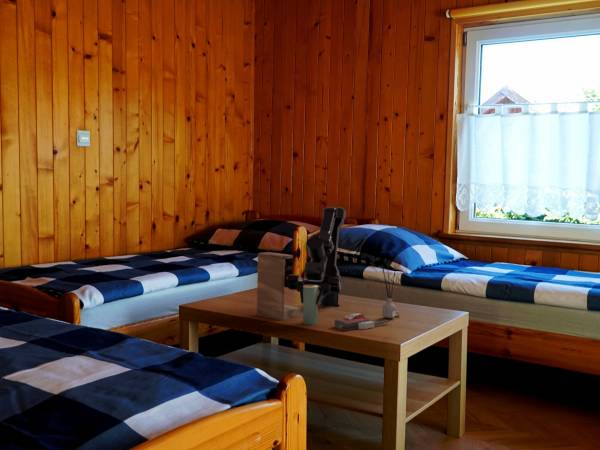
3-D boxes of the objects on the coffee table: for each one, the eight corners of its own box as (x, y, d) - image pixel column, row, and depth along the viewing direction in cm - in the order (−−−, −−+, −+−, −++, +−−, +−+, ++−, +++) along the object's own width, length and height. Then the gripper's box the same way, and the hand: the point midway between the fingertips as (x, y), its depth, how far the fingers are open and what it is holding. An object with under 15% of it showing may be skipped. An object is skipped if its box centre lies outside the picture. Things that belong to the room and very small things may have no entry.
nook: (278, 310, 242) (279, 251, 240) (301, 315, 234) (303, 254, 232) (256, 314, 234) (257, 253, 232) (280, 320, 226) (282, 256, 224)
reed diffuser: (387, 321, 228) (388, 265, 227) (371, 317, 233) (373, 262, 231) (403, 317, 236) (405, 262, 234) (388, 314, 240) (390, 260, 239)
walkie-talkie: (348, 333, 210) (390, 325, 223) (348, 320, 210) (390, 313, 222) (330, 328, 217) (372, 321, 230) (330, 315, 217) (372, 308, 229)
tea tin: (314, 321, 226) (315, 284, 225) (319, 324, 221) (320, 286, 220) (300, 321, 224) (301, 284, 223) (304, 325, 219) (305, 287, 218)
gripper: (288, 251, 227) (278, 287, 217) (340, 254, 222) (333, 291, 212) (293, 270, 235) (284, 306, 225) (344, 273, 230) (337, 310, 221)
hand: (309, 303), depth 221 cm, fingers closed on tea tin, 5 cm apart
